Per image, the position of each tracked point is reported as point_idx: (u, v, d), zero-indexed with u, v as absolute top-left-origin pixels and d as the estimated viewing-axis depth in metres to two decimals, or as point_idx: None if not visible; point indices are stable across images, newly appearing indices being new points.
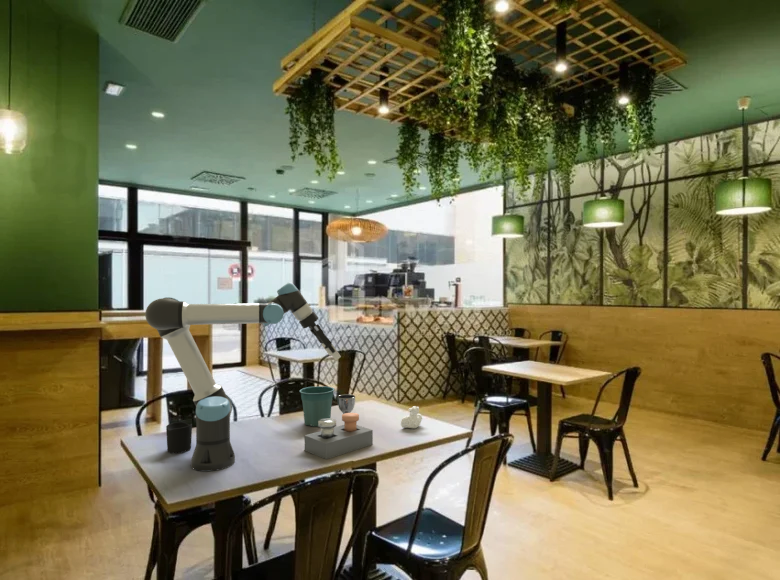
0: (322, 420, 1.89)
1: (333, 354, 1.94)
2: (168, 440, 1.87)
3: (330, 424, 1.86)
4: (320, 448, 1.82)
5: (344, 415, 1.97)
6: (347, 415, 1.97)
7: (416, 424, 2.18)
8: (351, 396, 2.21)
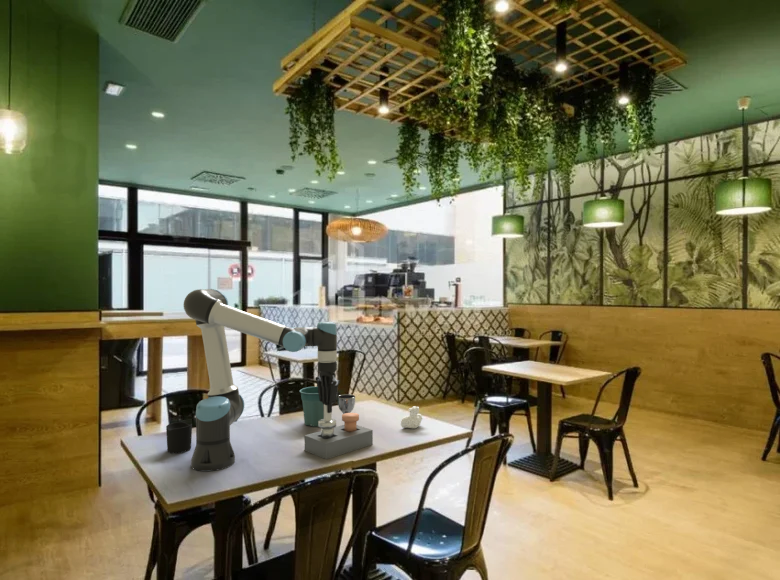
0: (322, 420, 1.89)
1: (327, 414, 1.88)
2: (168, 440, 1.87)
3: (330, 424, 1.86)
4: (320, 448, 1.82)
5: (344, 415, 1.97)
6: (347, 415, 1.97)
7: (416, 424, 2.18)
8: (351, 396, 2.21)
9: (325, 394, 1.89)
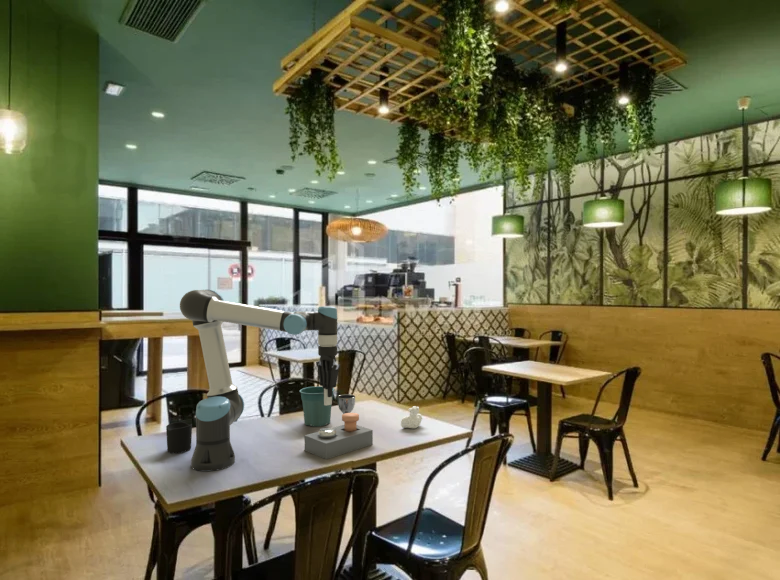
0: (322, 430, 1.90)
1: (327, 398, 1.88)
2: (168, 440, 1.87)
3: (330, 434, 1.86)
4: (320, 448, 1.82)
5: (344, 415, 1.97)
6: (347, 415, 1.97)
7: (416, 424, 2.18)
8: (351, 396, 2.21)
9: (325, 378, 1.89)
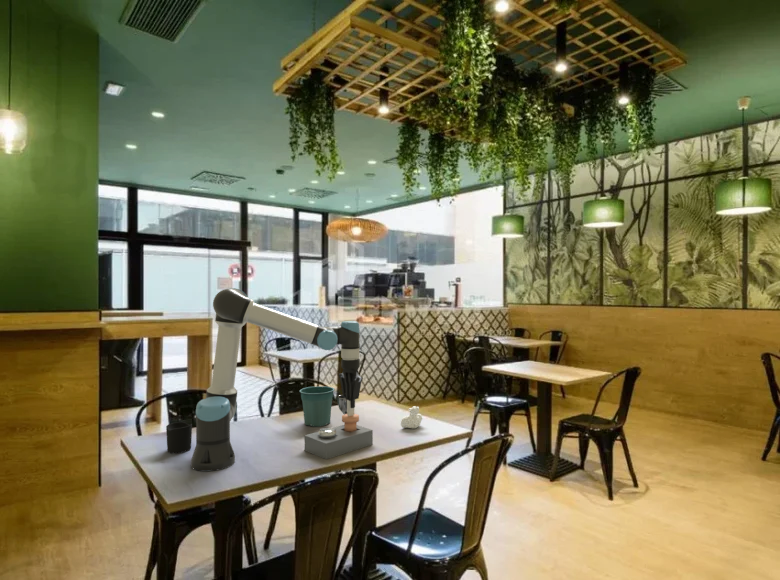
0: (322, 430, 1.90)
1: (350, 409, 1.97)
2: (168, 440, 1.87)
3: (330, 434, 1.86)
4: (320, 448, 1.82)
5: (344, 416, 1.97)
6: (347, 416, 1.97)
7: (416, 424, 2.18)
8: None
9: (348, 390, 1.98)
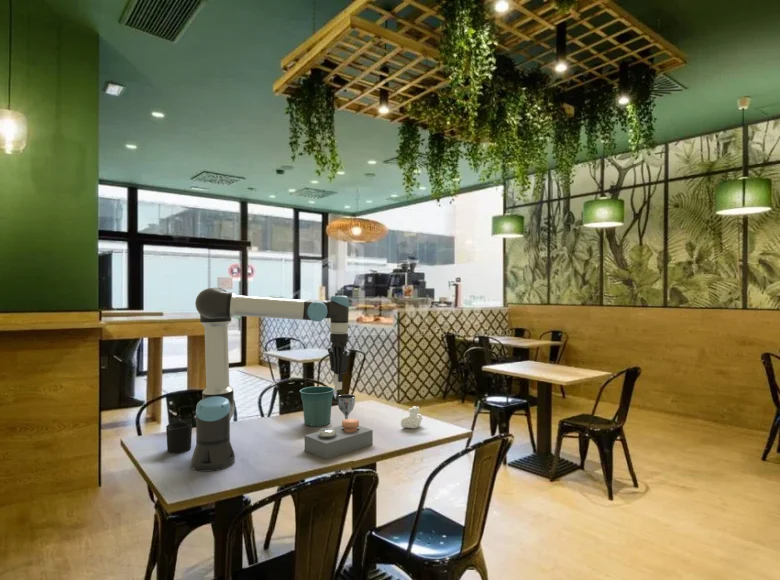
0: (322, 430, 1.90)
1: (338, 383, 1.97)
2: (168, 440, 1.87)
3: (330, 434, 1.86)
4: (320, 448, 1.82)
5: (344, 421, 1.97)
6: (347, 421, 1.97)
7: (416, 424, 2.18)
8: (351, 396, 2.21)
9: (336, 364, 1.98)
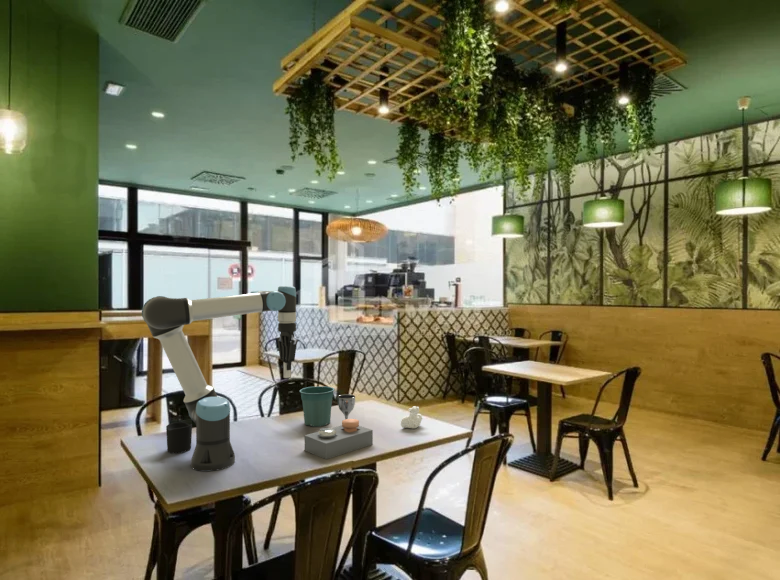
0: (322, 430, 1.90)
1: (286, 371, 2.03)
2: (168, 440, 1.87)
3: (330, 434, 1.86)
4: (320, 448, 1.82)
5: (344, 421, 1.97)
6: (347, 421, 1.97)
7: (416, 424, 2.18)
8: (351, 396, 2.21)
9: (285, 353, 2.04)
